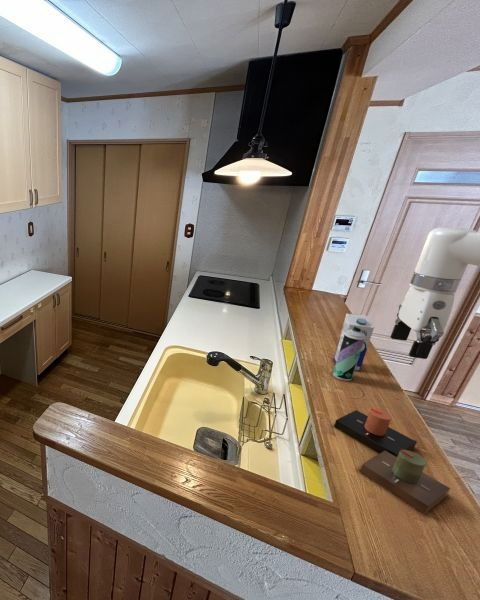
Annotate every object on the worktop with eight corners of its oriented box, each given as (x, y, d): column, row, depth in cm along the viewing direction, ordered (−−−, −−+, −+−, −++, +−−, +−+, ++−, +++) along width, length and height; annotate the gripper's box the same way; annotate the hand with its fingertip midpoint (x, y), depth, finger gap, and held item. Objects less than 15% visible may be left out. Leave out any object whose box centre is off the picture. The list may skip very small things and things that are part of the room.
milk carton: (354, 362, 126) (369, 315, 119) (360, 371, 120) (376, 322, 113) (332, 359, 129) (346, 312, 122) (337, 367, 123) (351, 319, 116)
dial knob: (388, 432, 88) (395, 415, 86) (379, 438, 86) (386, 420, 84) (369, 422, 92) (375, 405, 90) (360, 427, 90) (366, 410, 88)
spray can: (331, 371, 121) (346, 322, 114) (350, 375, 118) (366, 325, 111) (333, 378, 117) (348, 328, 110) (352, 382, 114) (369, 331, 107)
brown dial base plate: (446, 496, 73) (450, 487, 72) (424, 514, 69) (428, 505, 68) (381, 457, 83) (385, 449, 82) (359, 471, 79) (362, 463, 79)
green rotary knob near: (421, 479, 74) (430, 460, 72) (411, 486, 73) (420, 467, 71) (397, 465, 78) (405, 446, 76) (388, 471, 76) (395, 452, 74)
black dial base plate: (413, 449, 86) (417, 441, 85) (393, 462, 82) (397, 454, 81) (353, 416, 98) (356, 409, 97) (333, 426, 94) (336, 419, 93)
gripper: (482, 296, 65) (448, 369, 71) (434, 274, 80) (409, 335, 86) (433, 292, 68) (404, 362, 74) (396, 271, 83) (374, 331, 89)
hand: (407, 347), depth 80 cm, fingers open, 9 cm apart
